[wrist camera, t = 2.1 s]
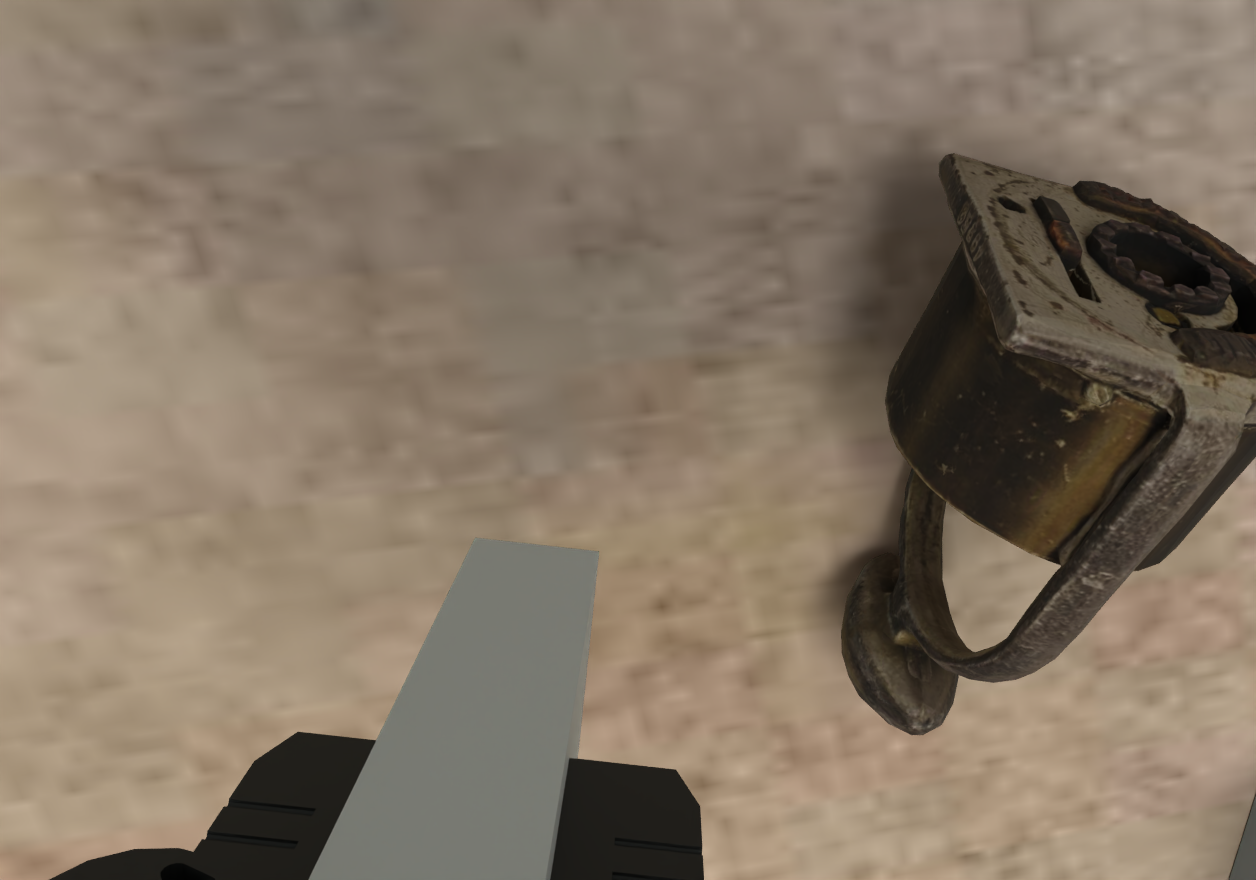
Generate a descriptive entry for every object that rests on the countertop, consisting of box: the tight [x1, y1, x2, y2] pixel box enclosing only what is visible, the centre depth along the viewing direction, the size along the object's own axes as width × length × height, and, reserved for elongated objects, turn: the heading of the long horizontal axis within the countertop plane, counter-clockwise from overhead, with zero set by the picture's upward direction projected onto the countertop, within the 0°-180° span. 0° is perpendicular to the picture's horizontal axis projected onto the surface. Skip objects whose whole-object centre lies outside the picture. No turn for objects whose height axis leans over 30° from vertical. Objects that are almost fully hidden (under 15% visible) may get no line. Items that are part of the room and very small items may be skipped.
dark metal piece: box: [841, 153, 1256, 735], centre depth 21 cm, size 7×13×10 cm, turn 0°
